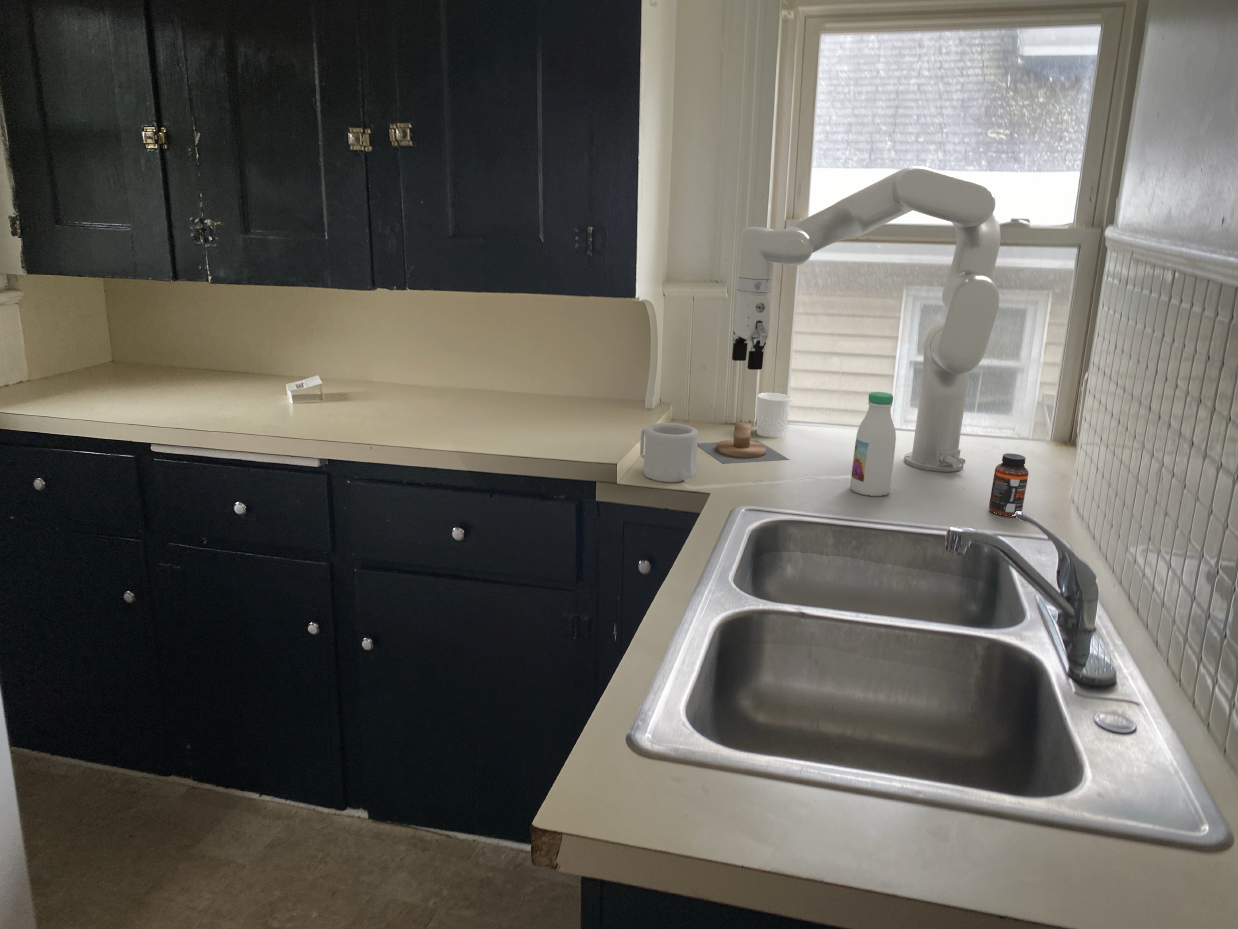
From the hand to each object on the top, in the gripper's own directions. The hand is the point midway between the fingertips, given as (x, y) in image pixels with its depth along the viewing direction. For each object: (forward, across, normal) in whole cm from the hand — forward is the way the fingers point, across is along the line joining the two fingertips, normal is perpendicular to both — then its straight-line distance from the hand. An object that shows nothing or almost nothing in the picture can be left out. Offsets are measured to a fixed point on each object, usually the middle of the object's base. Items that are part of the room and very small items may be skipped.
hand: (746, 364), depth 211 cm
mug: (+20, -14, +22) cm, 33 cm away
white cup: (+20, +12, -12) cm, 26 cm away
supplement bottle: (+19, -46, -37) cm, 62 cm away
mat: (+20, -3, 0) cm, 20 cm away
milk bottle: (+20, -30, -17) cm, 40 cm away
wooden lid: (+19, -3, 0) cm, 19 cm away
